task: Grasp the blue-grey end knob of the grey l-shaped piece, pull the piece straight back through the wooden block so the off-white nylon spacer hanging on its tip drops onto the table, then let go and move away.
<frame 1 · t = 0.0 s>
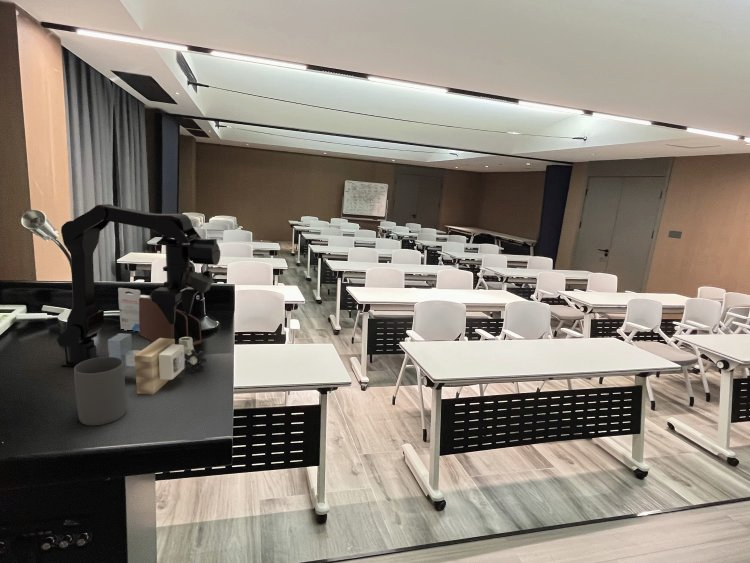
hand: (180, 318, 117), 15 cm above the table, tool pointing down, fingers open, 9 cm apart
ink box: (136, 329, 147), on the table
spacer: (172, 373, 111), point 3 cm above the table, touching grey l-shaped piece
wooden block: (157, 383, 111), on the table
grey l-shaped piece: (148, 355, 110), point 7 cm above the table, slide at 0.0 cm, touching spacer
valve: (189, 365, 123), on the table
mug: (100, 411, 97), on the table
letter holder: (170, 340, 141), on the table
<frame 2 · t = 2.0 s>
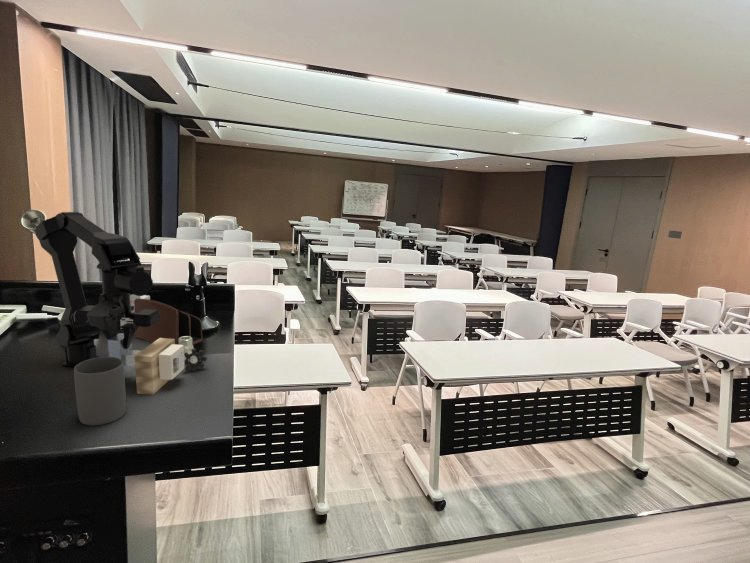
hand: (120, 348, 109), 9 cm above the table, tool pointing down, fingers closed on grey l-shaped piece, 3 cm apart
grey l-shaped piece: (148, 355, 110), point 7 cm above the table, slide at 0.0 cm, touching gripper, spacer
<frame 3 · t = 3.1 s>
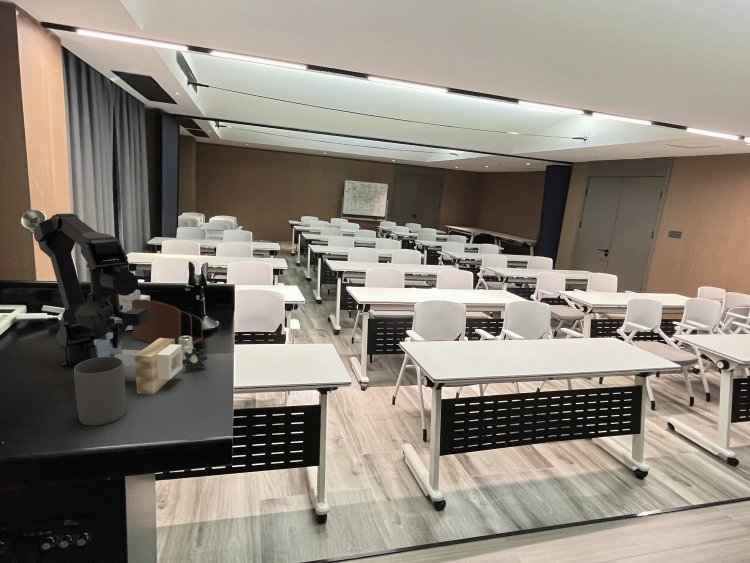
hand: (109, 347, 109), 9 cm above the table, tool pointing down, fingers closed on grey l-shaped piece, 3 cm apart
spacer: (170, 373, 111), point 3 cm above the table, touching wooden block
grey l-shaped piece: (137, 354, 110), point 7 cm above the table, slide at 2.7 cm, touching gripper
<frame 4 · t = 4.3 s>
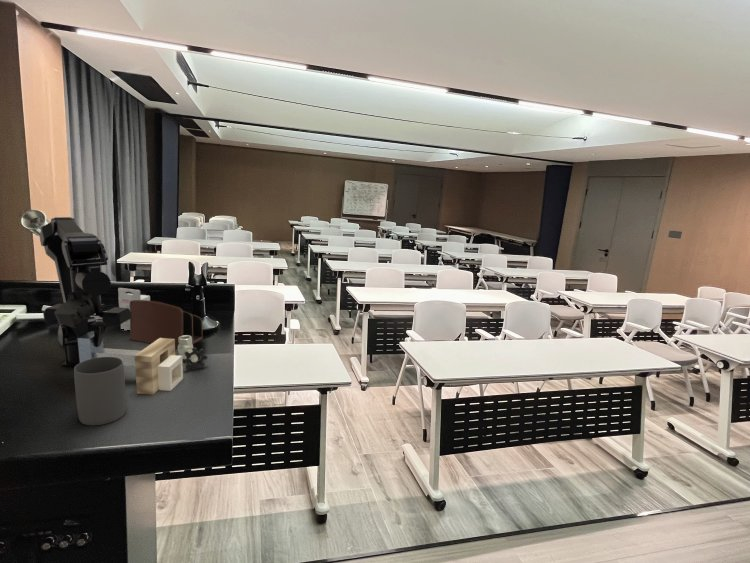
hand: (91, 346, 109), 9 cm above the table, tool pointing down, fingers closed on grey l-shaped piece, 3 cm apart
spacer: (171, 384, 111), on the table
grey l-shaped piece: (119, 353, 110), point 7 cm above the table, slide at 7.4 cm, touching gripper
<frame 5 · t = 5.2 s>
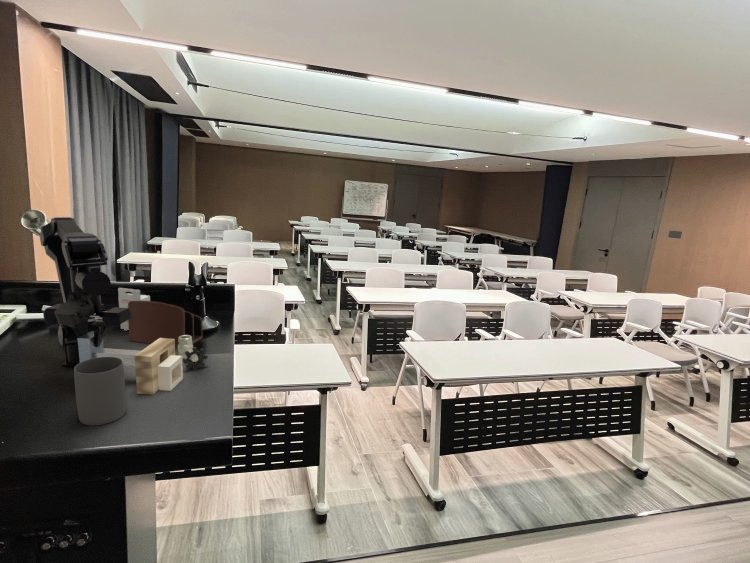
hand: (91, 346, 109), 9 cm above the table, tool pointing down, fingers closed on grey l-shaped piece, 3 cm apart
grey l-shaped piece: (119, 353, 110), point 7 cm above the table, slide at 7.5 cm, touching gripper
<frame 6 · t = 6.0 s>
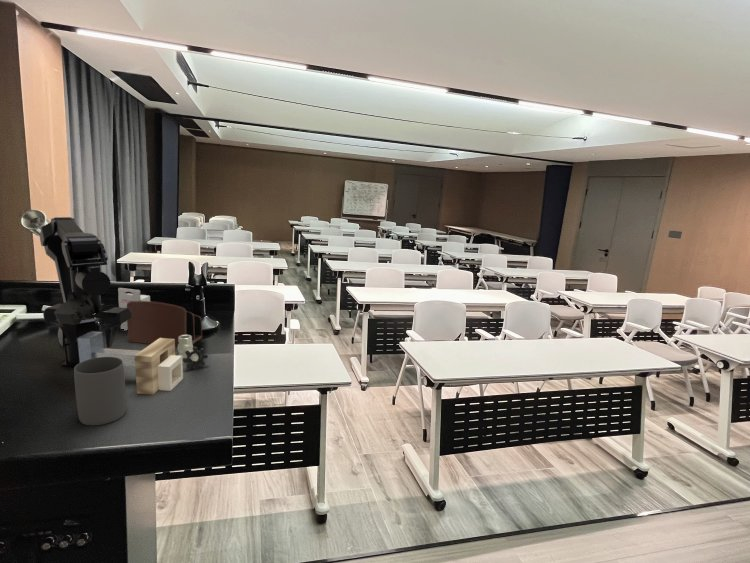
hand: (91, 346, 109), 9 cm above the table, tool pointing down, fingers open, 9 cm apart
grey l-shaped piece: (119, 353, 110), point 8 cm above the table, slide at 7.5 cm
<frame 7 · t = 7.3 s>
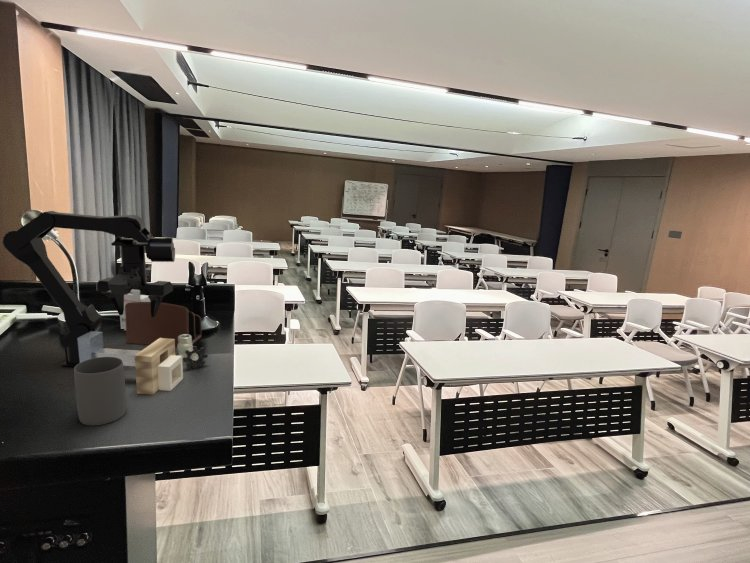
hand: (137, 315, 121), 13 cm above the table, tool pointing down, fingers open, 9 cm apart
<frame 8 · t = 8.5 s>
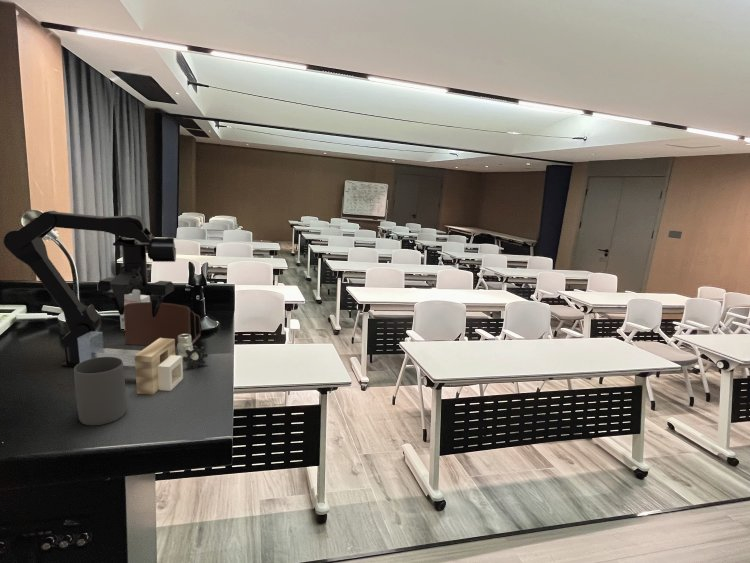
hand: (138, 315, 122), 13 cm above the table, tool pointing down, fingers open, 9 cm apart
at the end: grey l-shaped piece slide at 7.5 cm; spacer touching table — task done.
